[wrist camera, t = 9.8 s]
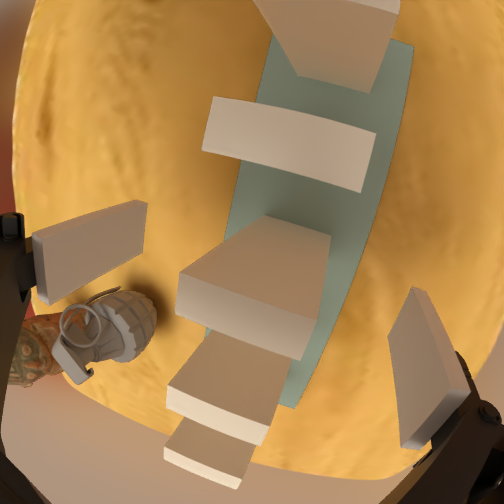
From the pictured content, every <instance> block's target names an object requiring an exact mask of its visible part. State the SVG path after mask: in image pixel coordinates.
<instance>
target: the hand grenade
mask: <svg viewBox="0 0 504 504" xmlns="http://www.w3.org/2000/svg"><path fill="white" fill-rule="evenodd" d="M120 288H121V287H120V286H119V287H116V288H112V289H109V290H107V291H104V292H101V293H99V294H96V295H95V296H93V297H91V298H89V299H88V300H87V301H85V302H84V303H83V304H73V305H70V306H68V307H67V308H66V309H65V310H64V311H63V313H62V314H61V317H60V330H61V331H60V334H59V336H58V338H57V340H56V342H55V344H54V345H53V348H52V355H53V357H54V358H55V359H56V361H57V362H58V363H59V364H60V366H61V367H62V368H63V370H64V371H65V372H66V373H67V375H68V376H69V377H70V378H71V379H72V381H73V382H74V383H75V384H77V385H80V384H82V383H83V382H84V381H86V380H87V379H89V378H90V377H91V376H93V374H94V371H93V368H90V369H89V370H88V371H87V369H86V367H85V366H86V365H87V364H88V363H89V362H100V361H104V360H108V359H113V360H114V361H117V362H120V363H124V362H130V361H132V360H133V359H135V358H136V357H137V356H138V355H140V353H141V352H142V351H143V350H144V349H145V348H146V346H147V345H148V344H149V342H150V340H151V338H152V336H153V334H154V332H155V329H156V323H157V311H156V308H155V307H154V306H153V302H152V301H151V299H149V298H147V297H146V295H144V294H142V293H140V292H135V291H129V290H125V291H118V290H119V289H120ZM116 291H118V292H116ZM113 292H115V293H113ZM109 293H111V294H109ZM106 294H109V295H106ZM103 295H106V296H104V297H101V296H103ZM99 297H101V299H98V300H96V301H95V302H94V303H92V304H91V305H90V306H88V305H87V304H88V303H90V302H92V301H93V300H95V299H97V298H99ZM73 308H77V309H76V310H75V311H74V312H73V313H72V314H71V316H70V317H69V318H68V319H67V321H66V322H65V323H64V325H63V321H64V317H65V315H66V314H67V312H68V311H70V310H71V309H73ZM82 308H85V309H87V312H86V316H85V321H86V325H87V326H86V327H85V329H84V331H83V332H82V331H81V329H80V328H79V327H78V326H77V325H76V324H75V322H73V323H72V324H71V325H70V327H69V328H68V325H69V323H70V321H71V319H72V317H73V316H74V315H75V314H76V313H77V312H78V311H80V310H81V309H82ZM67 328H68V329H67ZM66 330H67V331H66Z"/></svg>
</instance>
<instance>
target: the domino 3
mask: <svg viewBox="0 0 504 504" xmlns="http://www.w3.org/2000/svg"><path fill="white" fill-rule="evenodd" d="M330 242H331V235H328V234H325V233H322V232H319V231H315V230H312V229H309V228H306V227H303V226H299V225H296V224H293V223H290V222H287V221H283V220H280V219H277V218H273V217H270V216H267V215H262V216H261V217H259V218H258V219H256V220H255V221H253V222H252V223H251V224H249V225H248V226H246V227H245V228H243V229H242V230H240V231H239V232H237V233H236V234H234V235H233V236H231V237H230V238H228V239H227V240H226V241H224V242H223V243H221V244H220V245H218V246H217V247H215V248H214V249H212V250H211V251H210V252H208V253H207V254H205V255H204V256H202V257H201V258H199V259H198V260H197V261H195V262H194V263H192V264H191V265H189V266H188V267H186V268H185V269H184V270H182V271H181V272H180V275H179V282H178V289H177V297H176V305H175V314H176V315H179V316H181V317H183V318H186V319H188V320H191V321H193V322H195V323H198V324H200V325H203V326H205V327H208V328H210V329H213V330H215V331H218V332H220V333H223V334H225V335H228V336H231V337H233V338H236V339H239V340H241V341H244V342H247V343H249V344H252V345H255V346H258V347H260V348H263V349H266V350H269V351H272V352H275V353H278V354H280V355H283V356H286V357H289V358H292V359H295V360H298V361H301V358H302V356H303V353H304V351H305V349H306V346H307V344H308V342H309V339H310V337H311V334H312V332H313V329H314V327H315V324H316V322H317V318H318V313H319V307H320V302H321V297H322V291H323V286H324V280H325V274H326V268H327V262H328V255H329V249H330Z"/></svg>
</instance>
